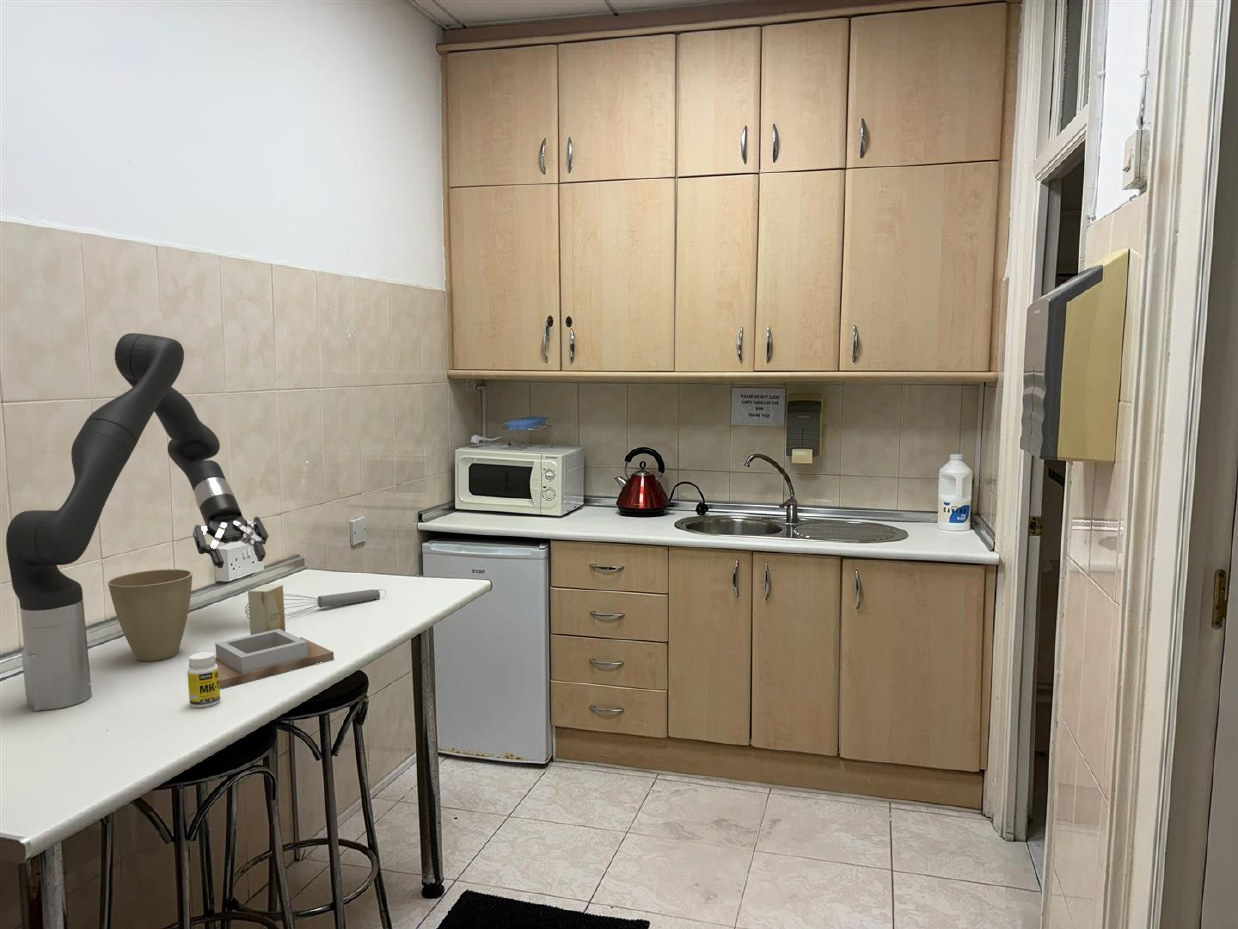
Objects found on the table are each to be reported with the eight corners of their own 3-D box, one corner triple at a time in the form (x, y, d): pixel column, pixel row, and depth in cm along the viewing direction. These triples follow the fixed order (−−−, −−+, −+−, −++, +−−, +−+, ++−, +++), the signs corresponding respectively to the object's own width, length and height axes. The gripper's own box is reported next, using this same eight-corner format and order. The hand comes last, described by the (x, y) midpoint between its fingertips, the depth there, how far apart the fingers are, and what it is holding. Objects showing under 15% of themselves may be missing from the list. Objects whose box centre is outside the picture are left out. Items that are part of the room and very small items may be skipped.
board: (218, 689, 163) (217, 681, 163) (189, 671, 173) (189, 663, 173) (333, 659, 178) (333, 652, 178) (301, 644, 188) (301, 637, 188)
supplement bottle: (200, 710, 153) (197, 661, 152) (184, 705, 156) (180, 657, 155) (226, 701, 157) (222, 653, 156) (209, 696, 160) (206, 649, 159)
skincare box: (270, 651, 184) (265, 591, 182) (250, 650, 185) (246, 591, 183) (287, 641, 190) (283, 583, 189) (268, 640, 191) (264, 583, 190)
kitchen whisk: (392, 600, 222) (390, 574, 222) (251, 630, 200) (249, 602, 199) (380, 595, 227) (379, 570, 226) (241, 624, 205) (239, 597, 204)
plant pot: (214, 649, 186) (208, 572, 184) (146, 672, 173) (139, 589, 171) (166, 640, 193) (160, 565, 191) (98, 661, 180) (90, 581, 178)
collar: (242, 673, 166) (241, 657, 166) (216, 658, 175) (215, 643, 175) (308, 657, 175) (307, 641, 175) (280, 643, 184) (279, 628, 184)
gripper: (186, 496, 193) (211, 557, 186) (253, 488, 203) (279, 546, 196) (179, 518, 198) (203, 579, 191) (245, 509, 207) (270, 567, 201)
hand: (242, 562), depth 193 cm, fingers open, 8 cm apart
